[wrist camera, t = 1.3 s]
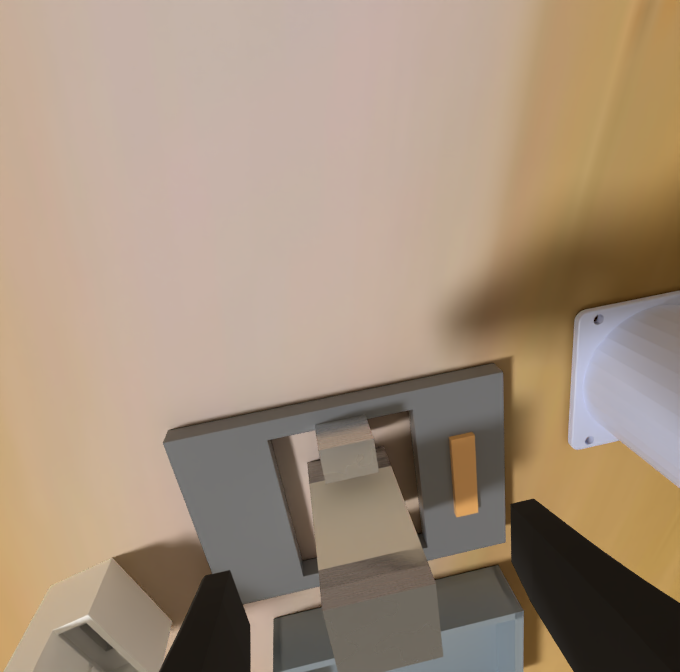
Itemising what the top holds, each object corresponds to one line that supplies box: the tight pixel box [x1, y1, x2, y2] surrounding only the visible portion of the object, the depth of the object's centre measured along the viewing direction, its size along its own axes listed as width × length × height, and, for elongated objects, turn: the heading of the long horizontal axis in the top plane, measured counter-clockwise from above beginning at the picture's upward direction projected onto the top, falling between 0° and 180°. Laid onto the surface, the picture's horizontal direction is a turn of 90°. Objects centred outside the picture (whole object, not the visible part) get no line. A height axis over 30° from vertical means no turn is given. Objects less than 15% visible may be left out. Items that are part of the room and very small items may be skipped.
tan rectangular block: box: [307, 446, 443, 672], centre depth 19 cm, size 4×4×8 cm
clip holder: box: [163, 363, 506, 604], centre depth 22 cm, size 16×11×3 cm
